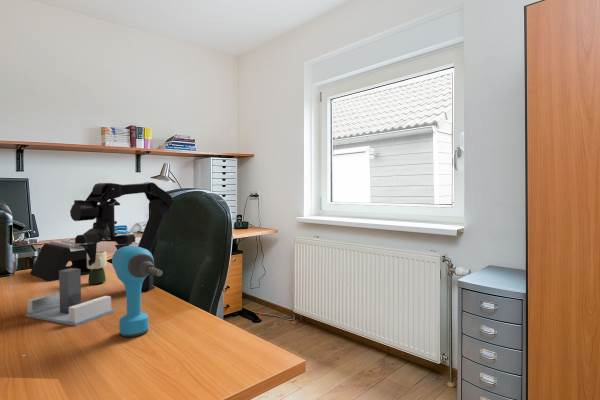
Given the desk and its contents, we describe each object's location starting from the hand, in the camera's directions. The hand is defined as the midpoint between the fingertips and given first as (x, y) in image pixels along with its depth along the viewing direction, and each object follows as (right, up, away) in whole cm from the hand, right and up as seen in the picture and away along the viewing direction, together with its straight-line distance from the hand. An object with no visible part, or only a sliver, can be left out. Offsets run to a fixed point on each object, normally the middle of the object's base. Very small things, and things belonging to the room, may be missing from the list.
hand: (106, 263), depth 123 cm
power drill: (+26, -14, -31) cm, 43 cm away
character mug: (-17, -13, +23) cm, 31 cm away
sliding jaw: (-13, -12, -10) cm, 20 cm away
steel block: (-4, -13, -13) cm, 19 cm away
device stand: (-41, -13, +42) cm, 61 cm away
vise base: (-4, -13, -13) cm, 19 cm away
